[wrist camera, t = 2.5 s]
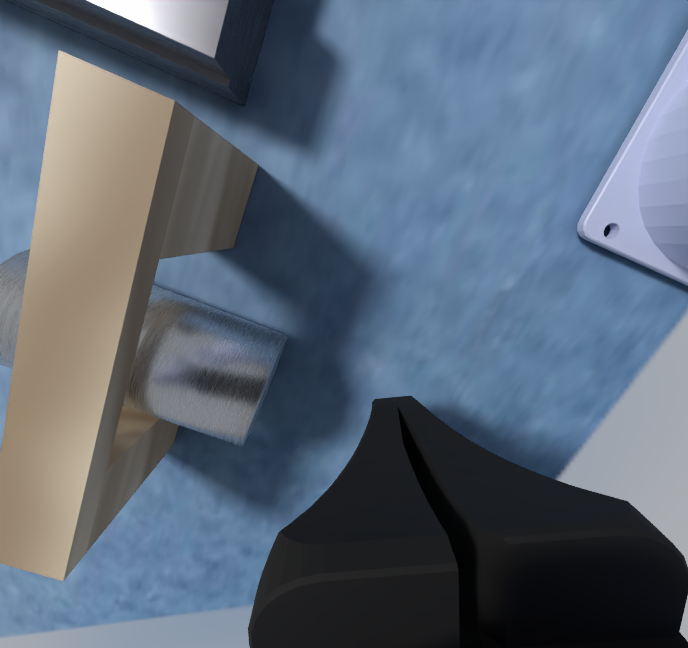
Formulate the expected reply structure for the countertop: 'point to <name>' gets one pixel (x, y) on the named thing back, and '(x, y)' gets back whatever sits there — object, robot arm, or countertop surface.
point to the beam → (101, 303)
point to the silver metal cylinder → (178, 359)
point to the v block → (174, 35)
